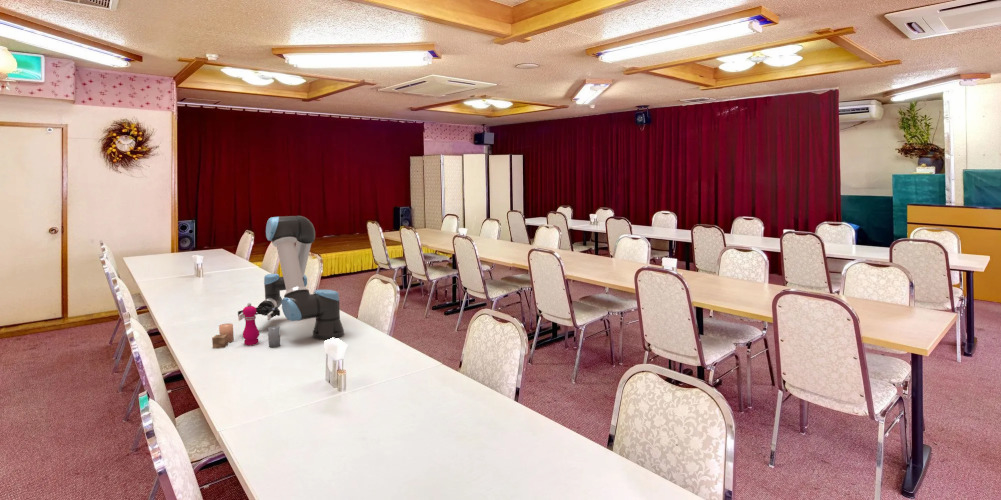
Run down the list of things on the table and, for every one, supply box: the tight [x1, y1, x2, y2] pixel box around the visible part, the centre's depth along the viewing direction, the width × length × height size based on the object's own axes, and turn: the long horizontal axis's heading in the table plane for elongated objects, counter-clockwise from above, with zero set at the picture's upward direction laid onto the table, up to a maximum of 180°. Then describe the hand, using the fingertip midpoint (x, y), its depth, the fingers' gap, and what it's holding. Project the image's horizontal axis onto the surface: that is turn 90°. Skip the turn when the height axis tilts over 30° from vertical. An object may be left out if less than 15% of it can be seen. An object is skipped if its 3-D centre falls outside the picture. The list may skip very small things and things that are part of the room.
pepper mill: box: [242, 302, 260, 346], centre depth 256 cm, size 7×7×20 cm
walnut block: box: [211, 334, 229, 349], centre depth 253 cm, size 5×5×5 cm
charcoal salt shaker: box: [267, 325, 281, 349], centre depth 254 cm, size 5×5×9 cm
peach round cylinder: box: [218, 323, 235, 344], centre depth 261 cm, size 6×6×8 cm
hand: (253, 317), depth 263 cm, fingers open, 13 cm apart
